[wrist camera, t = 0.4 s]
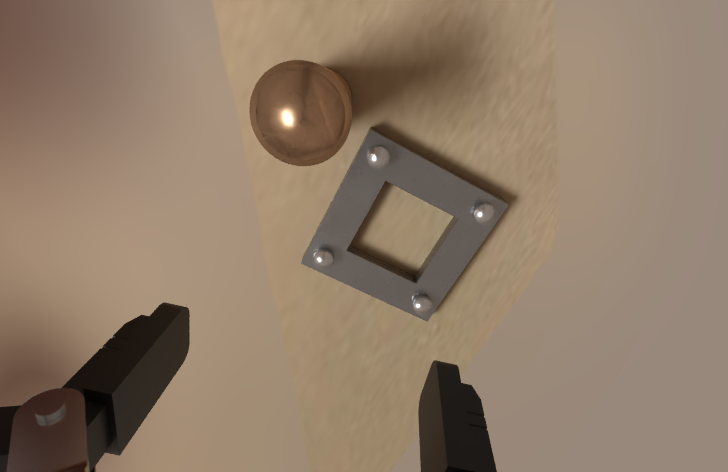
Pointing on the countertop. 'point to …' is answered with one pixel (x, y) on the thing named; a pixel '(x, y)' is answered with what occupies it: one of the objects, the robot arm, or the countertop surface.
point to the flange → (424, 181)
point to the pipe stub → (301, 112)
